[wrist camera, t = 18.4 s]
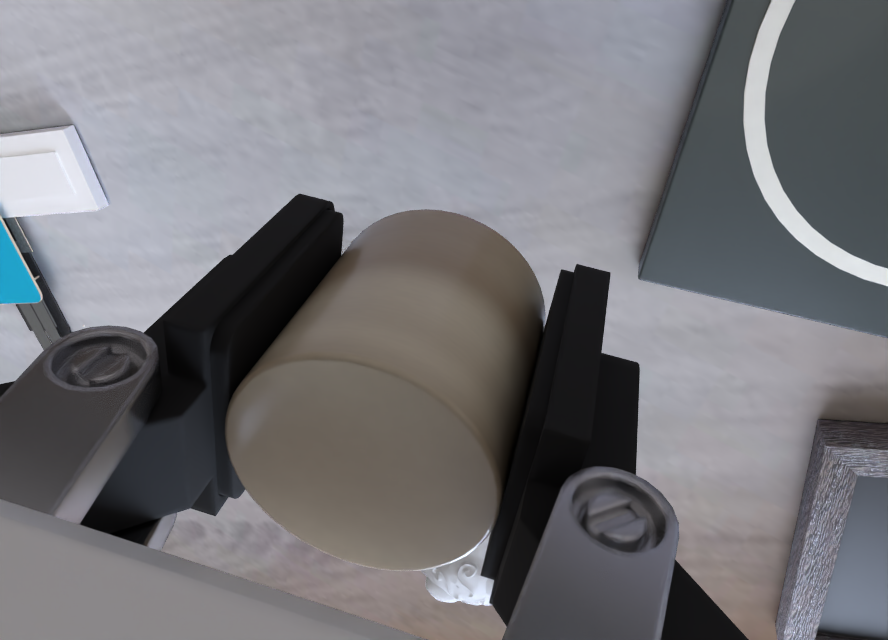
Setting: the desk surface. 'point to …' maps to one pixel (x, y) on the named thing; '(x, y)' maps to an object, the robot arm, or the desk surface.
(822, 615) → the picture frame
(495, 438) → the beige cylinder
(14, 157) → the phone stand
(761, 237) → the slate board
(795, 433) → the desk surface
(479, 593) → the frog figurine
